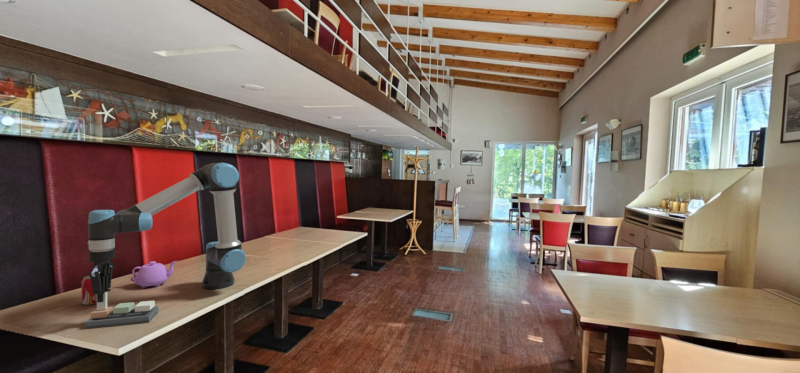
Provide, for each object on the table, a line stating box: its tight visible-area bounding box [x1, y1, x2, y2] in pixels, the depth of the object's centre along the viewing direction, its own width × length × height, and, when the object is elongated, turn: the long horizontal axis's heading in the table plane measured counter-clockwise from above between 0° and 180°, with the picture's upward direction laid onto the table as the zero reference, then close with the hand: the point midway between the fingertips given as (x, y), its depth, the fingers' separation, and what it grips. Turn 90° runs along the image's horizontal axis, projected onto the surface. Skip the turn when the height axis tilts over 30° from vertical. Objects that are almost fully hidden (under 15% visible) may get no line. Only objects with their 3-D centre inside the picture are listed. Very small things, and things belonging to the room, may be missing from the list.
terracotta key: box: [90, 306, 114, 320], centre depth 127 cm, size 5×5×4 cm
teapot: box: [130, 260, 178, 289], centre depth 169 cm, size 20×14×12 cm
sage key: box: [113, 301, 135, 316], centre depth 130 cm, size 5×5×4 cm
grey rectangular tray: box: [84, 305, 159, 330], centre depth 130 cm, size 20×10×2 cm, turn 109°
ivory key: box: [134, 300, 156, 314], centre depth 132 cm, size 5×5×4 cm
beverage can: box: [80, 275, 97, 306], centre depth 144 cm, size 6×6×12 cm
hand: (102, 309), depth 127 cm, fingers closed
